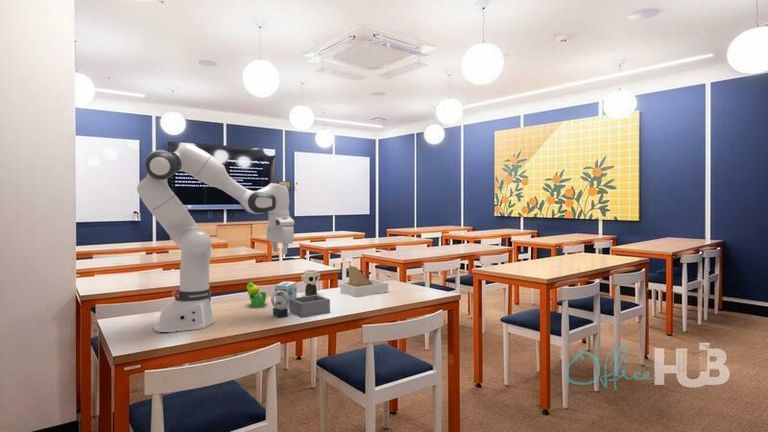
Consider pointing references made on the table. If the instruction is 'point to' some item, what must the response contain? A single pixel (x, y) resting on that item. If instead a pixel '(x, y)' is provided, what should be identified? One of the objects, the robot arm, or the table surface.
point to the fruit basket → (256, 295)
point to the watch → (280, 311)
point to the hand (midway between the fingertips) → (279, 252)
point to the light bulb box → (289, 289)
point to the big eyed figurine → (311, 281)
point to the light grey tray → (364, 288)
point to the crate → (309, 305)
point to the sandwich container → (357, 278)
